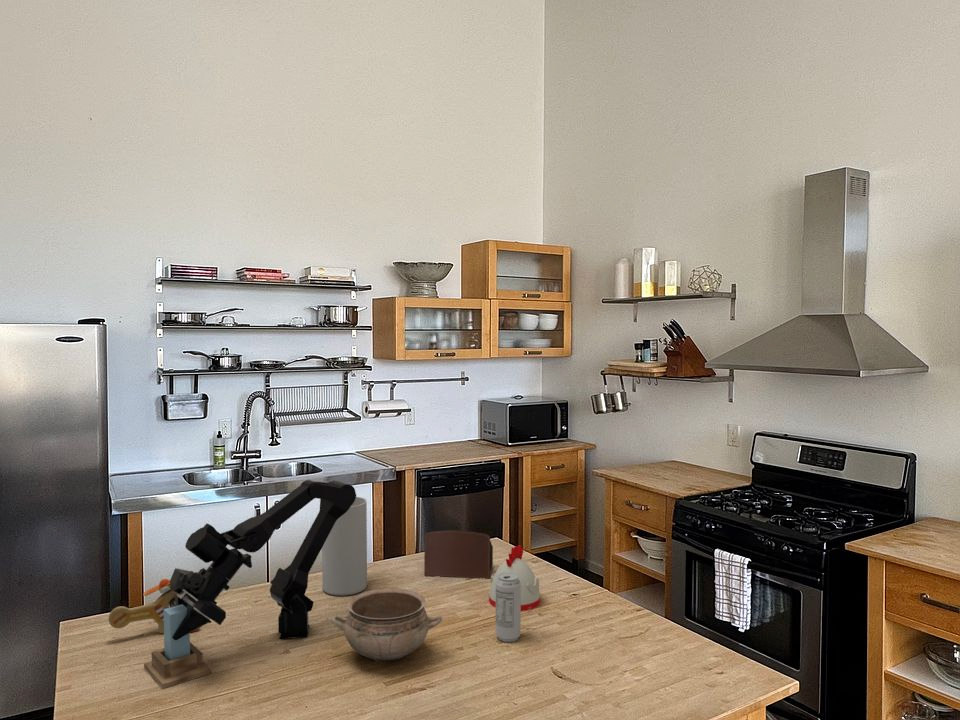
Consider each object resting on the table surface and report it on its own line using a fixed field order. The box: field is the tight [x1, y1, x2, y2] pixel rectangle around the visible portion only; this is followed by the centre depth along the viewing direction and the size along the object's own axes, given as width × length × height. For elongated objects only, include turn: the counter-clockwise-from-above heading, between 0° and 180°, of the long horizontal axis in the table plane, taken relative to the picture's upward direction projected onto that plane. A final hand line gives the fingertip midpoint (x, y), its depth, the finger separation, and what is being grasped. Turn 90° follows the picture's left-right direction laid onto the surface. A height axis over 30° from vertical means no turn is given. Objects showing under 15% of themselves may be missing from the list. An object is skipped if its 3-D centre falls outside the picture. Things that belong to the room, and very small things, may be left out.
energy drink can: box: [495, 573, 522, 643], centre depth 172 cm, size 6×6×15 cm
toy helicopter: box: [108, 578, 197, 634], centre depth 174 cm, size 8×21×14 cm, turn 122°
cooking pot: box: [331, 588, 443, 663], centre depth 162 cm, size 25×19×12 cm
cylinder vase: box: [321, 496, 368, 597], centre depth 203 cm, size 12×12×25 cm
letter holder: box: [423, 529, 494, 580], centre depth 217 cm, size 10×20×14 cm, turn 84°
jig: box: [143, 641, 212, 690], centre depth 155 cm, size 10×12×4 cm
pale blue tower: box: [163, 605, 191, 661], centre depth 155 cm, size 4×4×12 cm
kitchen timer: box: [488, 544, 541, 612], centre depth 194 cm, size 14×14×15 cm
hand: (170, 635), depth 154 cm, fingers closed on pale blue tower, 4 cm apart
